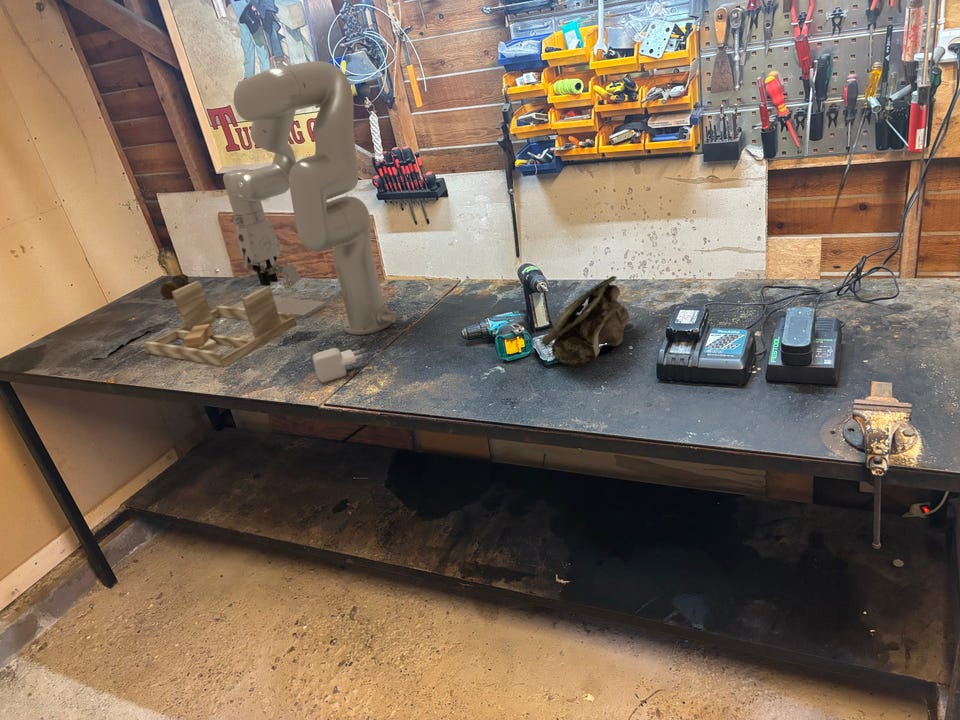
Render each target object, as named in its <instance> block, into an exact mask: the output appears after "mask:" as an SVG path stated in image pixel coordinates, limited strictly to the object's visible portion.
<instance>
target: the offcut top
mask: <svg viewBox="0 0 960 720" xmlns="http://www.w3.org/2000/svg"><path fill="white" fill-rule="evenodd" d="M213 333H214V331H213V329H212V326H211V324H205V325H199V326H194V327H193V328H192V330H191V331H190V332H189V333H188V335H187V336H186V337H185V338H184V339H183V342H184V344H185V347H189V348H195V347H201V346H204V345H205V343H206V342H207V341H208V339H209V338H210V336H211V335H212V334H213ZM213 335H214V334H213Z"/></svg>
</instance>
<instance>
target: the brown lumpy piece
mask: <svg viewBox="0 0 960 720" xmlns="http://www.w3.org/2000/svg"><path fill="white" fill-rule="evenodd" d="M188 282H189V277H188V275H187V274H182V273H180V274H175V275H174V276H172V279H171V281H170V282H166V283H164V282H163V283H162V284H161V287H160V293H159V294H160V295H161V296H162V297H163V298H164V299H166V300H173V299H174V297H173V294H172V291H175V290H177V289H179V288H181V287H184V286H186V285H188Z"/></svg>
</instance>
